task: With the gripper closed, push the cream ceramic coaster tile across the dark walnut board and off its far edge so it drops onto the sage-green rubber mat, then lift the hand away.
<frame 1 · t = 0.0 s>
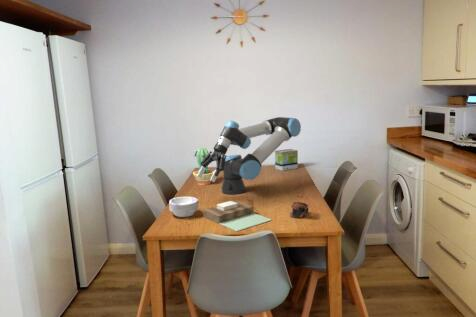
hand: (205, 179, 221), 15 cm above the table, tool tilted 35°, fingers open, 13 cm apart
paper bowls: (184, 214, 210), on the table
board: (228, 215, 206), on the table
potted cactus: (204, 183, 275), on the table
coaster: (227, 207, 206), point 4 cm above the table, touching board
tea box: (286, 169, 311), on the table
pottery mug: (300, 216, 201), on the table
mat: (245, 222, 195), on the table
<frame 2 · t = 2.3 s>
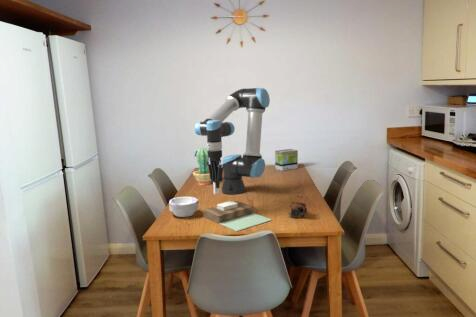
hand: (216, 193, 211), 10 cm above the table, tool pointing down, fingers closed
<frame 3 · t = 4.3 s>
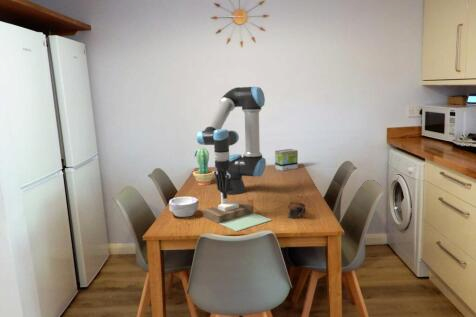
hand: (224, 204, 207), 5 cm above the table, tool pointing down, fingers closed
coaster: (228, 208, 205), point 4 cm above the table, touching board, gripper
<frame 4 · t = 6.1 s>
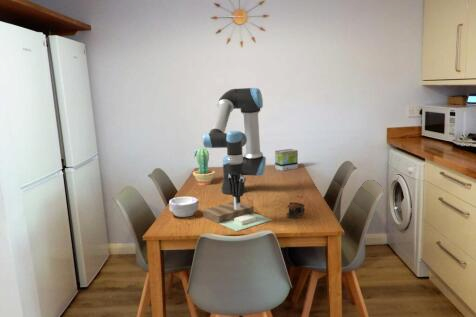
hand: (237, 208, 199), 5 cm above the table, tool pointing down, fingers closed
coaster: (245, 217, 194), point 2 cm above the table, tilted 180°, touching mat
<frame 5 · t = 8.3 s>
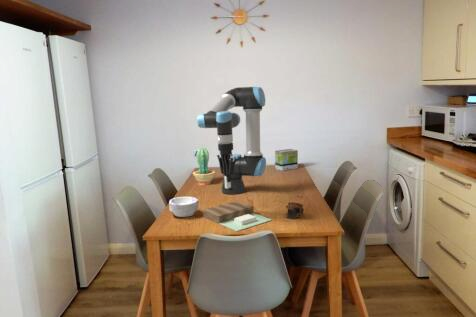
hand: (228, 187, 204), 15 cm above the table, tool pointing down, fingers closed
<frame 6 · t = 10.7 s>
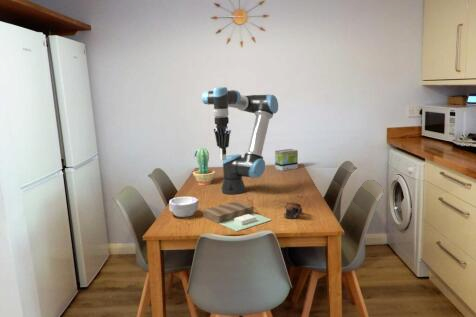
hand: (223, 159, 217), 26 cm above the table, tool pointing down, fingers closed
at the end: coaster point 2.4 cm above the table; coaster inside the target area on the mat (0.3 cm from its centre), point 2.4 cm above the mat's base; coaster moved 14.9 cm from its start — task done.
